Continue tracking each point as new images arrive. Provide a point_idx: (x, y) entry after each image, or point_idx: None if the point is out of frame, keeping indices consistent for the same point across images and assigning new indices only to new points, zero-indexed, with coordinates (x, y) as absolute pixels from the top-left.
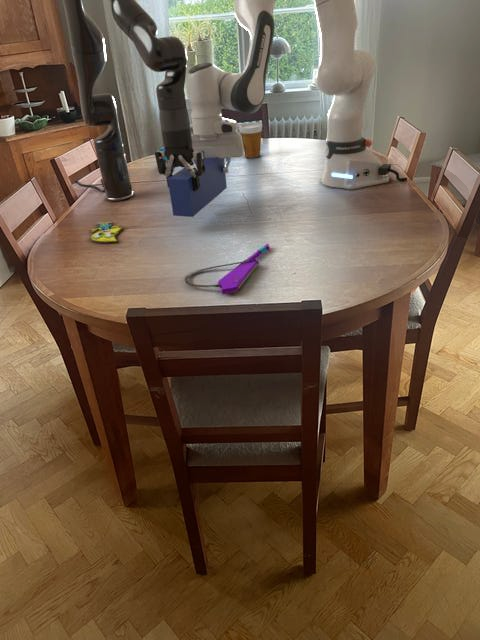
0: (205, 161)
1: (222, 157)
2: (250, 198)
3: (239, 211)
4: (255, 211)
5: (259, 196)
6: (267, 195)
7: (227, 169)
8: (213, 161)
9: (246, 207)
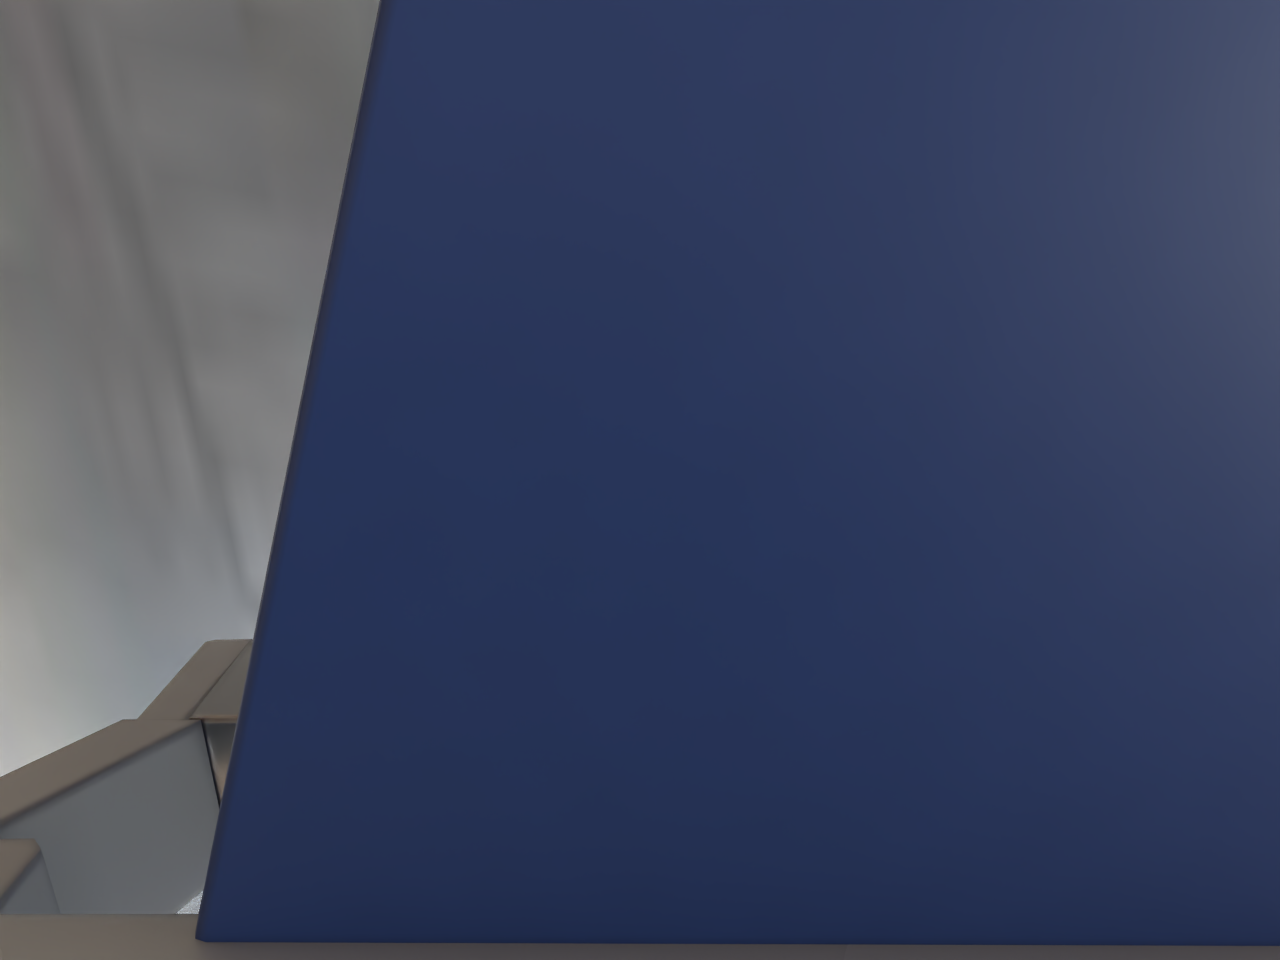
0: (901, 337)
1: (8, 929)
2: (213, 638)
3: (271, 160)
4: (23, 115)
5: (108, 685)
6: (11, 701)
7: (179, 680)
8: (336, 235)
9: (198, 312)
